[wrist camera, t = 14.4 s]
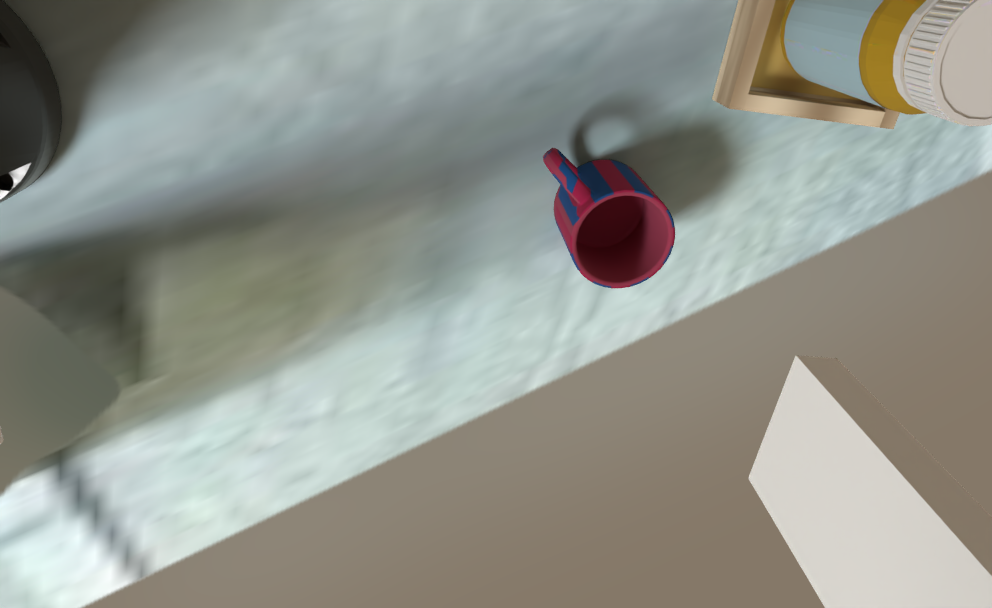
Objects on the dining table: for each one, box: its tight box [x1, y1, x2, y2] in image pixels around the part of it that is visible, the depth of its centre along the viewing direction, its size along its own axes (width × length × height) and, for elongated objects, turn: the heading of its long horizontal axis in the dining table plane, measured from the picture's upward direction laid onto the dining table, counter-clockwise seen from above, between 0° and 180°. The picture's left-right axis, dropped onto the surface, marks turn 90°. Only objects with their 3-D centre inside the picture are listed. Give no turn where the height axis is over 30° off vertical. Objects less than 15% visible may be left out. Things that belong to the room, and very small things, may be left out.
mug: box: [543, 148, 675, 288], centre depth 46 cm, size 7×10×7 cm
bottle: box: [780, 0, 992, 126], centre depth 37 cm, size 7×7×15 cm
